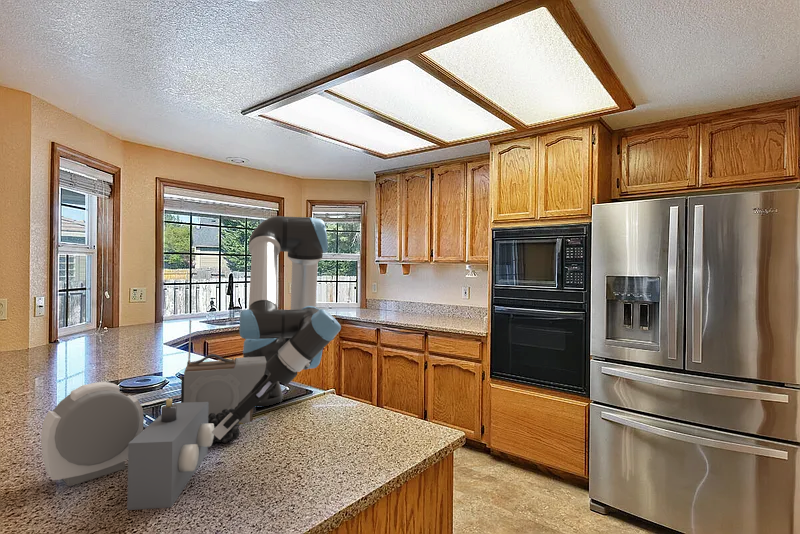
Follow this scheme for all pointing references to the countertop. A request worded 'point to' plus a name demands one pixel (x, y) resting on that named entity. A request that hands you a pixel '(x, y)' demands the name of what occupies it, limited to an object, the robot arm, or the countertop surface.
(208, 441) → the knob
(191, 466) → the knob
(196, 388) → the portable television
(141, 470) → the block
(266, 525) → the countertop surface
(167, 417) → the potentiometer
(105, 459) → the grey rounded slab
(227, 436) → the fruit
